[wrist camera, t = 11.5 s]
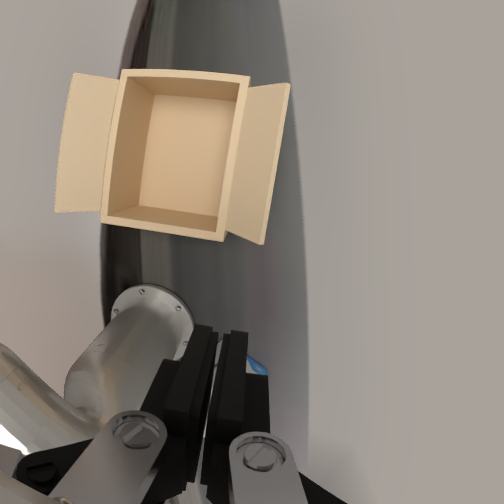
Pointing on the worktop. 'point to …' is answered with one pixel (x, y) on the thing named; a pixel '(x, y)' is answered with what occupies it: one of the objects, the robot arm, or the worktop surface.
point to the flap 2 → (257, 161)
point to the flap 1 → (84, 143)
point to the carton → (173, 151)
